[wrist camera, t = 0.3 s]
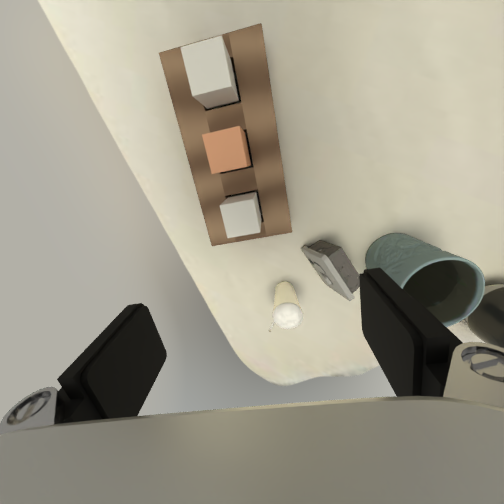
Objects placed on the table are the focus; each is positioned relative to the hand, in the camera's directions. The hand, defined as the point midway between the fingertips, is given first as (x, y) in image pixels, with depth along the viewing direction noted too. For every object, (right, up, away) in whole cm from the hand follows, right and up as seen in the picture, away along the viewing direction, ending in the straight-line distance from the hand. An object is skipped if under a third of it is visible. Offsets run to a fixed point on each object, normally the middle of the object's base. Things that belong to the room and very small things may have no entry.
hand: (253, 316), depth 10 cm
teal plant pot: (+23, +2, +30) cm, 38 cm away
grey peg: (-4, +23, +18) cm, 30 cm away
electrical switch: (+12, +2, +31) cm, 33 cm away
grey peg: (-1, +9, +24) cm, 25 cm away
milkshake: (+5, -4, +33) cm, 34 cm away
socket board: (-2, +17, +25) cm, 31 cm away
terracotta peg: (-2, +16, +21) cm, 26 cm away
